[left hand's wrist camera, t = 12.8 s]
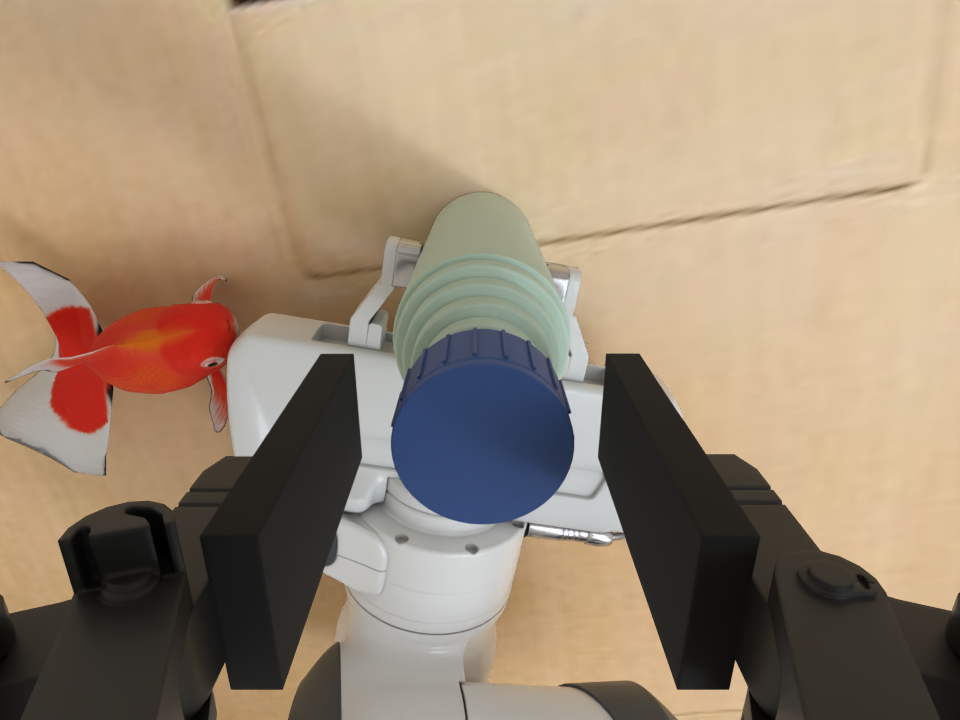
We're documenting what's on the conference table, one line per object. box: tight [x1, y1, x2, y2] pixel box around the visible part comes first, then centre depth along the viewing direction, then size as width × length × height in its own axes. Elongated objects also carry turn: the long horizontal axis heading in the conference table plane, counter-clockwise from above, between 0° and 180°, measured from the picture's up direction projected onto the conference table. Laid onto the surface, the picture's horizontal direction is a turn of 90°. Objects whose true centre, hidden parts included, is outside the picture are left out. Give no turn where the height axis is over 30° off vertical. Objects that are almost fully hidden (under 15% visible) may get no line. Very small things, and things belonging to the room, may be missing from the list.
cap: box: [391, 327, 574, 525], centre depth 14 cm, size 4×4×2 cm
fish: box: [0, 262, 240, 476], centre depth 31 cm, size 11×16×10 cm
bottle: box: [393, 192, 571, 381], centre depth 23 cm, size 5×5×21 cm
